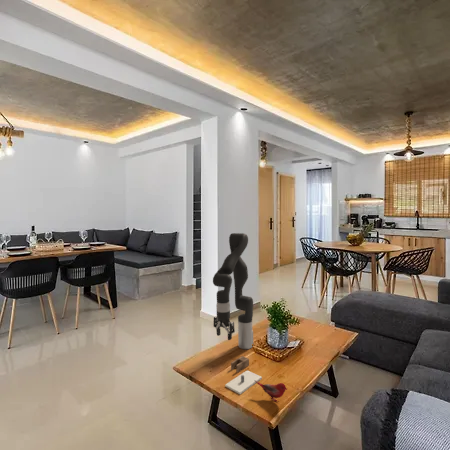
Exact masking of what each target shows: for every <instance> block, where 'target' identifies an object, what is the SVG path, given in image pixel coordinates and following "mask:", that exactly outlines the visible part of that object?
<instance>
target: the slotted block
mask: <svg viewBox="0 0 450 450" xmlns="http://www.w3.org/2000/svg"><path fill="white" fill-rule="evenodd" d="M249 366H250V359H249V358H248V357H247V356H246V357H245V356H243V355H242V356H240V357H238V358H236V359H235V360H232V361H231V362H230V370H232V371H233V370H236V372H235V373H240V372H241V371H243V370H244V369H246V368H247V367H249Z"/></svg>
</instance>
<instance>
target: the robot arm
mask: <svg viewBox="0 0 450 450" xmlns="http://www.w3.org/2000/svg"><path fill="white" fill-rule="evenodd" d="M228 239H229V240H228V243H229V250H230V253H229V254H228V255H227V256H226V257H225V258H224V260H223V263H222V264H221V265H222V266H221V267H220V268H219V269H218V270H217V271H216V273H214V275H213V277H212V283H213V285H214V286H215V287H220V288H223V289H221V290H217V292H216V316H214V317H213V324H212V325H213V326H212V327H213V328H215V329H216V336H221V328H222V329H224V330H225V331H226V332H227V340H228V341H231V340H232V337H233V333H235V331H236V330H235V322H234V321H230V318H231V303H230V291H231V286H232V285H233V284H234V304H235V305H234V306H235V308H236V310H240V311H243V312H244V313H241V314H239V315H238V317H237V326H238V327H237V328H238V329H237V331H238V332H237V333H238V337H237V339H238V340H237V341H238V342H237V343H238V344H237V345H238V348H239V349H241V350H250V349H252V348H253V346H252V344H253V345H254V330H253V316H254V299H253V298H252V297H251V296H247V295H243V289H244V286H245V284H246V283H247V280H248V278H249V274H248V273H249V272H248V271H249V270H248V265H247V264H246V262H245V261H244V259H243V258H242V257H241V256H242V255H243V254H244V251H245V250H246V248H247V247H248V244H249V237H248V235H247V234H246V233H243V232H241V233H240V232H236V233H231V234H230V235H229V237H228ZM231 275H233V278H232V276H231ZM233 280H234V281H233ZM232 283H233V284H232Z"/></svg>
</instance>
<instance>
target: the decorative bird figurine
mask: <svg viewBox="0 0 450 450" xmlns="http://www.w3.org/2000/svg"><path fill="white" fill-rule="evenodd" d="M255 382H256V383H255V384H257V385H258V386H260V387H261V388H262V390H263V391H264V392H265V394H267V395H268V396H269V398H270V400H273V401H274V402H280V401H279V400H277V399H278V398H279V399H280V398H281V397H283V395H284V393H285V392H286V391H288V388H286V387H287V386H286V384H285V383H283V382H279V383H277V384H272V383H271V384H268V383H267V384H266V383H265V384H262V383H260V381H258V382H257V381H255Z"/></svg>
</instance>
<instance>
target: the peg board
mask: <svg viewBox="0 0 450 450" xmlns="http://www.w3.org/2000/svg"><path fill="white" fill-rule="evenodd" d="M262 379H263V376H261V375H258V374H256V373H254V372H252V371H249V370H248V369H247V370H246V371H244V372H242V373H241V374H239V375H238V376H236V377H234V378H233V379H232V380H230V381H228V382H227V383H226V384H225V385H224V386H225V387H226V388H227V389H229V390H231V391H233V392H235V393H236V394H239V395H241V394H243V393H244V392H246V391H247V390H249V388H251V387H252V386H254V385H256V384H257V383H256V382H255V381H257V382H260V381H261V380H262Z"/></svg>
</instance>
